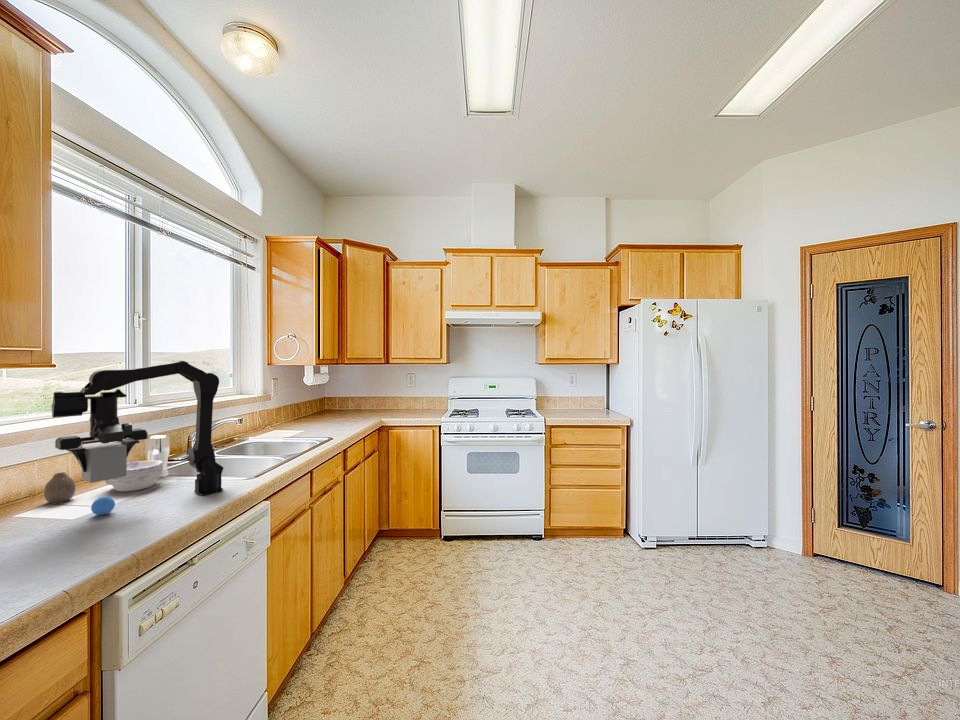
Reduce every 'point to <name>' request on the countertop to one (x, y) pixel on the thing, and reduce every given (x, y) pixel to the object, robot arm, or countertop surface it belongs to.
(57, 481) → the brown rounded lump
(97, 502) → the ball
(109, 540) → the countertop surface
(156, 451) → the beer glass
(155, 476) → the paper bowls
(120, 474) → the gray rectangular prism
